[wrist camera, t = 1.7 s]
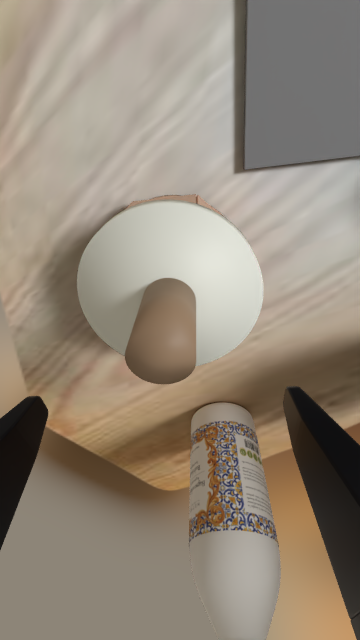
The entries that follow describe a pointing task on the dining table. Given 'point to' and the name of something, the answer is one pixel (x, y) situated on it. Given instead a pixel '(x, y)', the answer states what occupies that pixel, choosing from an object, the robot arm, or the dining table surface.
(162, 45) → the dining table surface
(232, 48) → the dining table surface
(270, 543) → the bath foam
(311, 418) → the robot arm
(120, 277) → the lid
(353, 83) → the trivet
